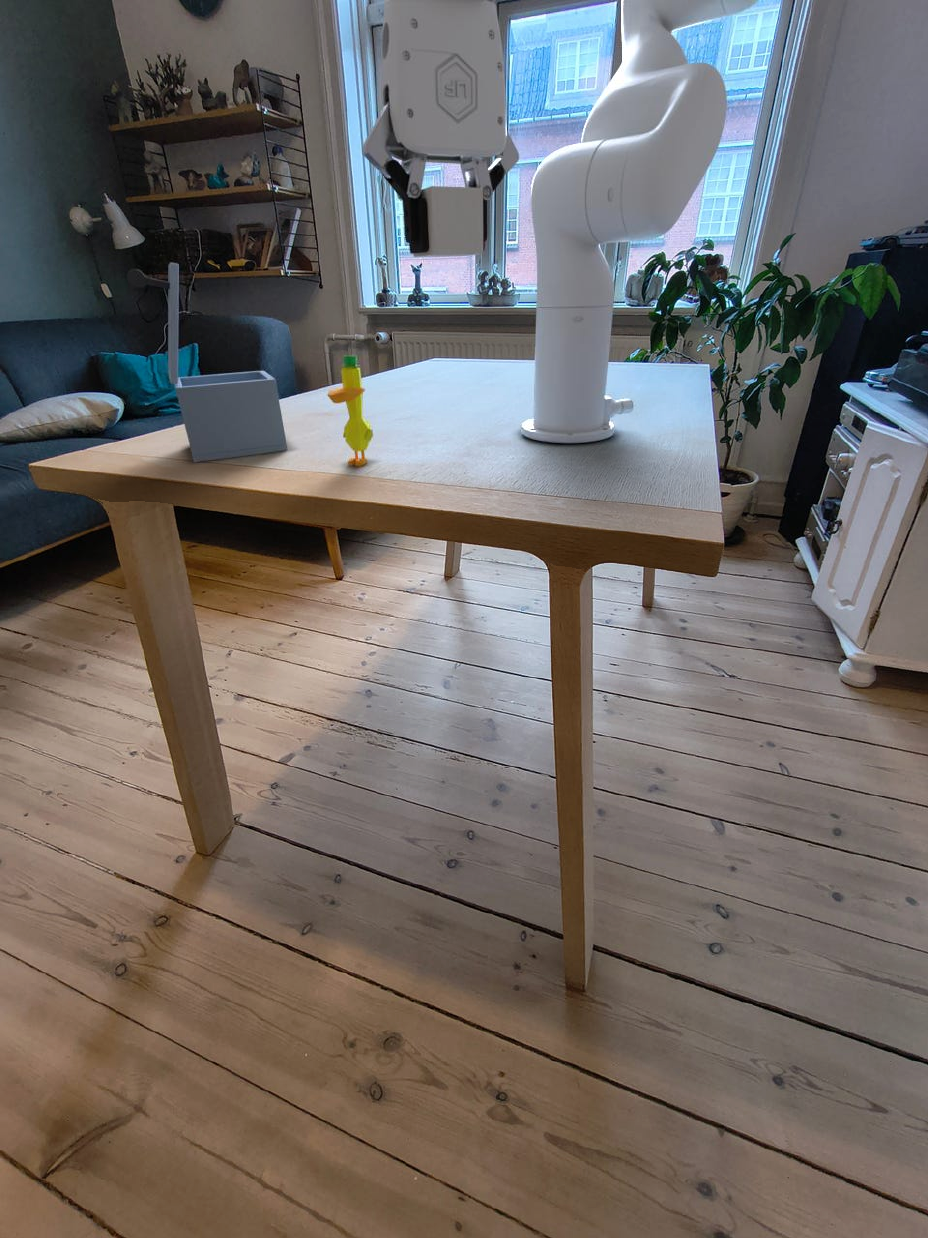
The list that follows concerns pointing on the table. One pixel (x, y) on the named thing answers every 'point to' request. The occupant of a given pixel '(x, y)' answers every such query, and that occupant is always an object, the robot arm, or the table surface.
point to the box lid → (139, 281)
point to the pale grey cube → (454, 221)
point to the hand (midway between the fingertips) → (447, 249)
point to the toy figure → (353, 409)
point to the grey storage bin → (231, 415)
